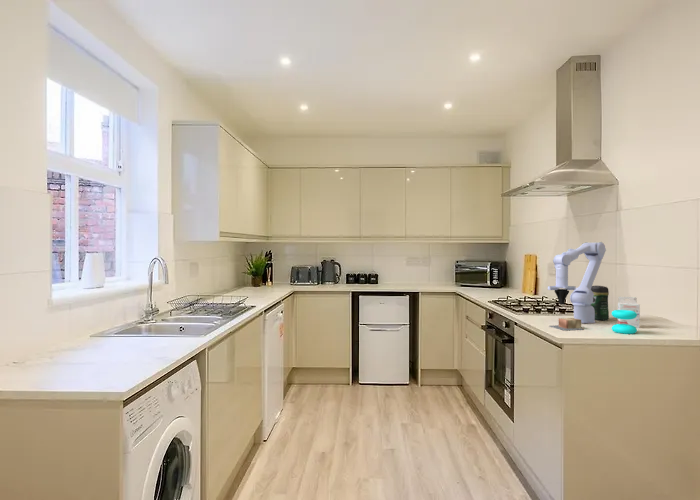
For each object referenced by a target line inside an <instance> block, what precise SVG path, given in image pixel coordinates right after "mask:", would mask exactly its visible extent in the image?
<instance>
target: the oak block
mask: <svg viewBox="0 0 700 500" xmlns="http://www.w3.org/2000/svg"><path fill="white" fill-rule="evenodd" d="M558 325H559V327H562V328H566V329H571V328H581V329H582V323H581V320H580V319H575V318H574V317H563V318H558Z"/></svg>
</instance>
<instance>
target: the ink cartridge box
mask: <svg viewBox="0 0 700 500" xmlns="http://www.w3.org/2000/svg"><path fill="white" fill-rule="evenodd" d="M617 298H618V300H617V310H630V311H634V312H636V314H637V316H636V318H634V319H628V320H627V319H618V318H617V324H629V325H632V326H634V327H636V329H640V324H641V323H640V316H641V315H640V313H641V308H640V305H641V304H639V303H638V302H637V301H638V300H637V298H638V297H637V296H636V297H633V296H618V297H617Z"/></svg>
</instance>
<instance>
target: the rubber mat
mask: <svg viewBox="0 0 700 500" xmlns="http://www.w3.org/2000/svg"><path fill="white" fill-rule="evenodd" d="M549 327H550V328H553V329H558V330H560V331H561V330H562V331H584V328H582V327H581V328H571V329H566V328H562V327H559V324H558V325H549Z"/></svg>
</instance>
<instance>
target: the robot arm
mask: <svg viewBox="0 0 700 500" xmlns="http://www.w3.org/2000/svg"><path fill="white" fill-rule="evenodd" d="M604 243H605V242H602V241H600V242H596V241H594V242H584V243H582V244H581V245H579V247H577V248H568V249H567V250H566V251H563V252H562V253H561V254H556V255H555V256H553V260H552V262H553V265H554V268H555V285H548V286H547V290H548V291H554V293H555V295H556V297H557V300H558V304H559V305H565V302H566V300H567V299H566V298H567V297H568V295H569V293H570V291H572V292H571V294H570V296H569V301H570V303H571V304H572V306H573V318H575V319H580V320H581V324H595V323H597V322H596V320H595V310H594V308H593V306H591V304H592V302H593V296H594V293H593V292H592V291H591V287H592V286H594V285H593V284H594V282H595V279H596V277H597V273H598V272H599V270H600V269H599V268H600V266H601V263H602V260H603V259H604V257H605V254H606V251H607V249H606V245H605V244H604ZM582 254H584V255H585V258H586V259H587V260H589V262H588V264H587V267H586V270H585V272H584V274H583V276H582V280H581V282H580V283H579V285H578V287H577V286H574V285H569V266H570V265H571V263H572V262H573V261H575V260H577V259H578V258H579V257H580V255H582Z"/></svg>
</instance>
